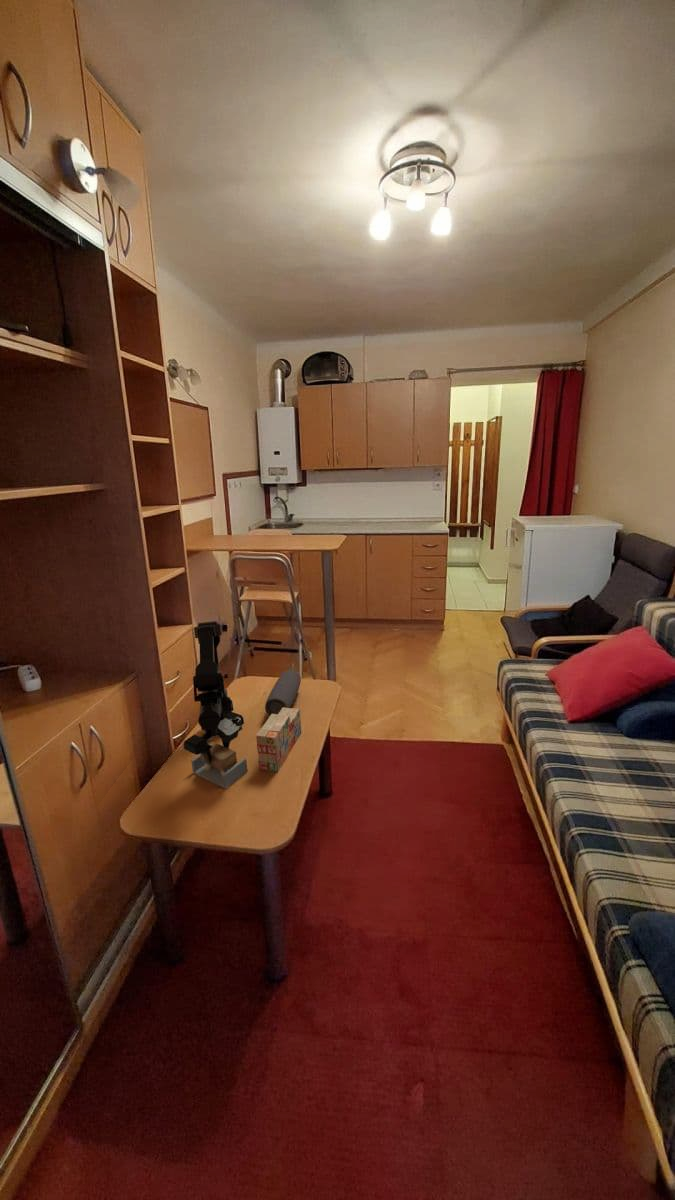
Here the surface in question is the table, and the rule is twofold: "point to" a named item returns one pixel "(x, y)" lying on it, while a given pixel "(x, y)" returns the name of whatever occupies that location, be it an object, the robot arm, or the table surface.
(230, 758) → the brown rectangular block
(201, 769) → the cradle
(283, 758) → the stack of blocks
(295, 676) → the bluetooth speaker
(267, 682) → the table surface
